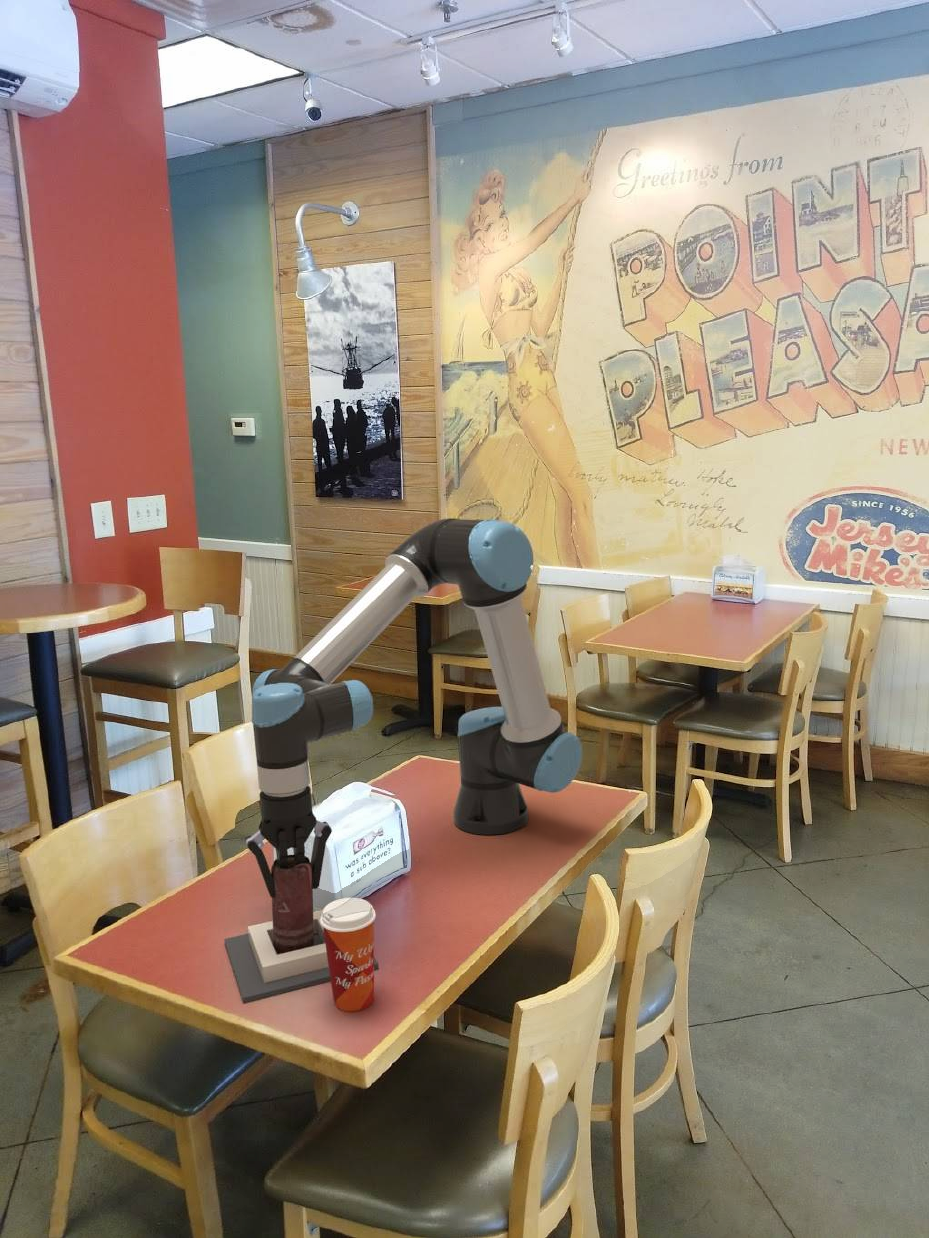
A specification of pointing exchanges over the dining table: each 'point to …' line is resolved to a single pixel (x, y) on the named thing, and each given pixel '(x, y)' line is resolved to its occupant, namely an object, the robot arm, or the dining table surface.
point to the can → (292, 906)
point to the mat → (252, 978)
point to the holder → (287, 962)
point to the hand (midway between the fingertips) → (297, 933)
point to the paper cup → (350, 952)
